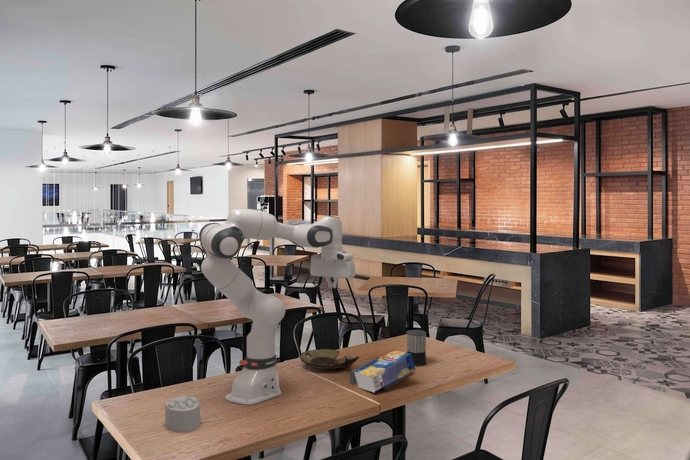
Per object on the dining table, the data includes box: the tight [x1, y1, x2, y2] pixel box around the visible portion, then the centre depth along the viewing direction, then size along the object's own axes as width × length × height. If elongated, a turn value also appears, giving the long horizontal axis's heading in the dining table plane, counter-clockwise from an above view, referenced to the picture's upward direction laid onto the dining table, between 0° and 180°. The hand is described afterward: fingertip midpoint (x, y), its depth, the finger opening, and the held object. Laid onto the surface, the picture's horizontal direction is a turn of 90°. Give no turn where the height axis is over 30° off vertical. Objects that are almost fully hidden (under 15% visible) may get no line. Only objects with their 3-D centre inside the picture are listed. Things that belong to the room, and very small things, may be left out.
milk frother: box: [406, 329, 427, 367], centre depth 252 cm, size 14×16×15 cm
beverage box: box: [354, 349, 416, 393], centre depth 220 cm, size 7×11×22 cm
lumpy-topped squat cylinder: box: [164, 395, 201, 433], centre depth 182 cm, size 10×13×9 cm
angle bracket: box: [349, 356, 413, 391], centre depth 230 cm, size 25×17×5 cm
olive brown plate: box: [299, 348, 360, 370], centre depth 245 cm, size 22×30×8 cm
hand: (332, 287), depth 226 cm, fingers closed
